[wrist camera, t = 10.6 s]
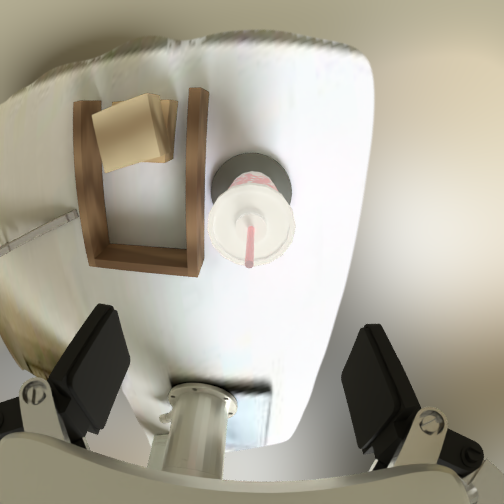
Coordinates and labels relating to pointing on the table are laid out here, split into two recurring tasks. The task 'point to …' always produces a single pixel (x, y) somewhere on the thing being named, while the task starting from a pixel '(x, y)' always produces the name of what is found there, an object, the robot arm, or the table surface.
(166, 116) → the offcut lower
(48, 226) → the caliper
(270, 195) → the beverage cup
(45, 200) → the table surface
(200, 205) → the rack
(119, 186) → the table surface
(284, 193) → the coaster
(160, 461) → the supplement box
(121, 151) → the offcut upper
